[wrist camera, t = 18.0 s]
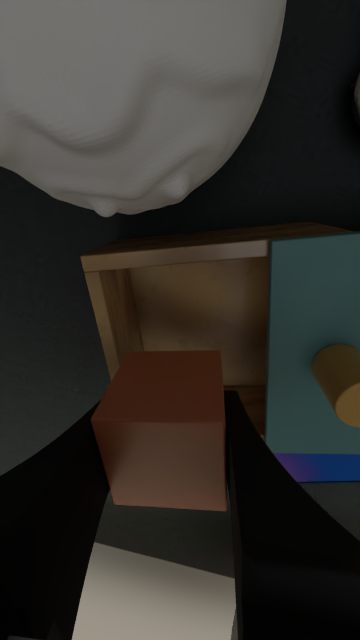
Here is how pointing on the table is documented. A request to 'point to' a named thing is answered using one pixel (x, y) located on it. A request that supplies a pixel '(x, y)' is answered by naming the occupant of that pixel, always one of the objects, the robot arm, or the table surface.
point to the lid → (313, 345)
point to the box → (192, 299)
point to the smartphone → (321, 467)
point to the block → (165, 430)
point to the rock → (356, 100)
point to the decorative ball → (130, 94)
